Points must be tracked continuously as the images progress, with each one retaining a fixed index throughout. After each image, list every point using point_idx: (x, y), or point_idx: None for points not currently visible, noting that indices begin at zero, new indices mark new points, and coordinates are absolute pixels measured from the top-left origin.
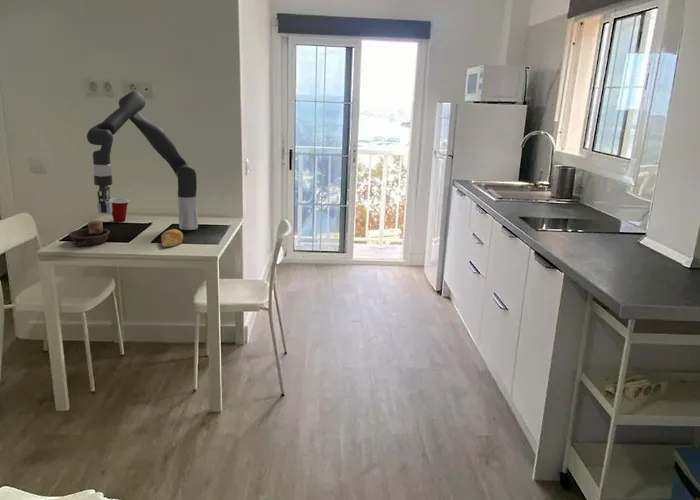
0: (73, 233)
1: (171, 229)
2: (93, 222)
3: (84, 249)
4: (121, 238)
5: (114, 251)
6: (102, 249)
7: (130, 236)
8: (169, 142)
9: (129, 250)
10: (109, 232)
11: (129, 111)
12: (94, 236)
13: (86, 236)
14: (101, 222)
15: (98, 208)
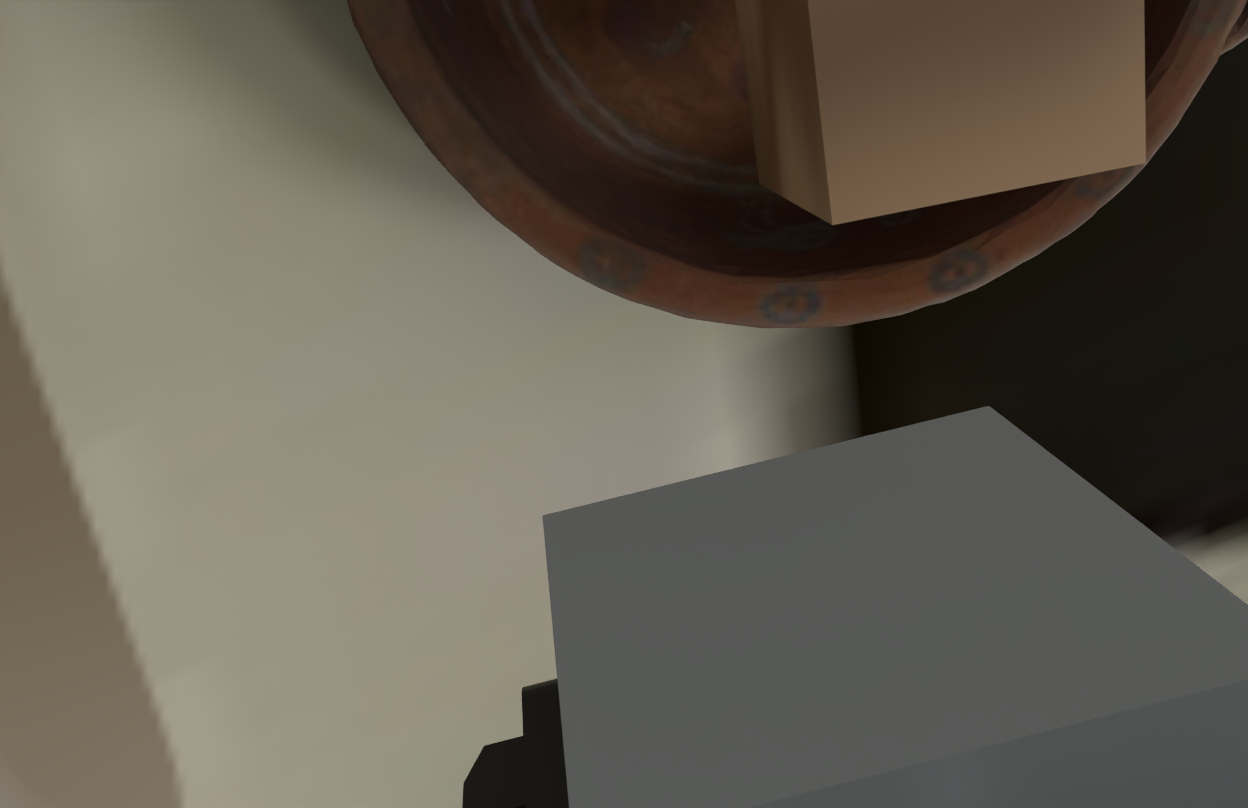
0: None
1: None
2: (865, 23)
3: (201, 61)
4: (1072, 365)
5: (225, 623)
6: (292, 386)
7: (1211, 450)
8: None
9: (343, 795)
10: (915, 309)
11: None
12: (499, 166)
13: None
14: (1025, 179)
15: (557, 656)
